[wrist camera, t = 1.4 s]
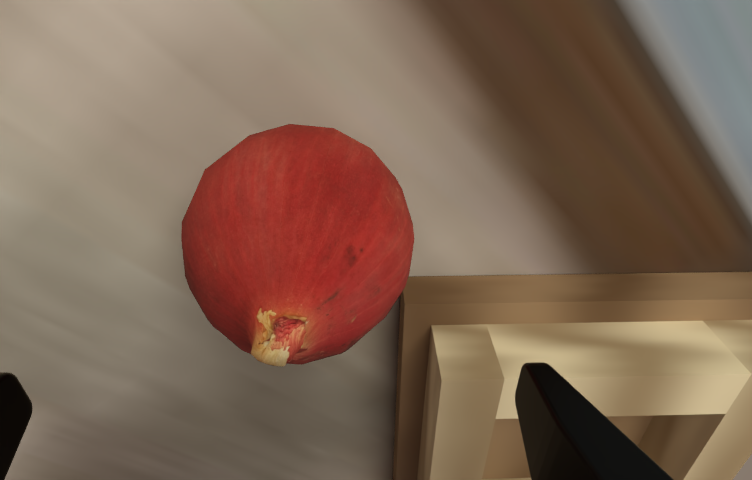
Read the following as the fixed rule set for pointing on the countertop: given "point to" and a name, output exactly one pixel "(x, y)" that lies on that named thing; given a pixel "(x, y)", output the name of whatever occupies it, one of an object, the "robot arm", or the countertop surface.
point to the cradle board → (542, 308)
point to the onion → (297, 243)
